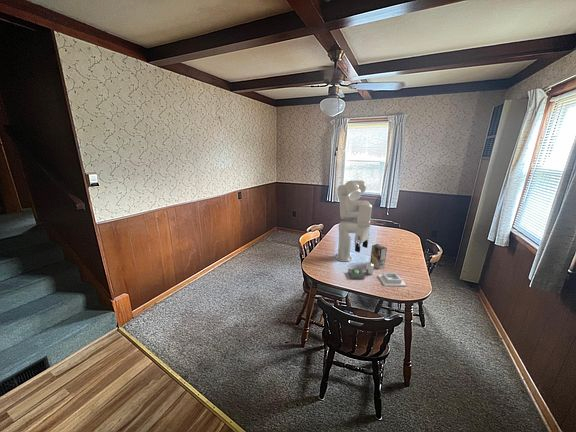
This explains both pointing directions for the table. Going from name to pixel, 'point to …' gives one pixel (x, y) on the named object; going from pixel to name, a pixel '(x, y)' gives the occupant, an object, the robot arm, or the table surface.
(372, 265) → the cylinder
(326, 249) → the table surface
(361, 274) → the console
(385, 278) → the white square tray
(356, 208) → the robot arm
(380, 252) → the coffee box
